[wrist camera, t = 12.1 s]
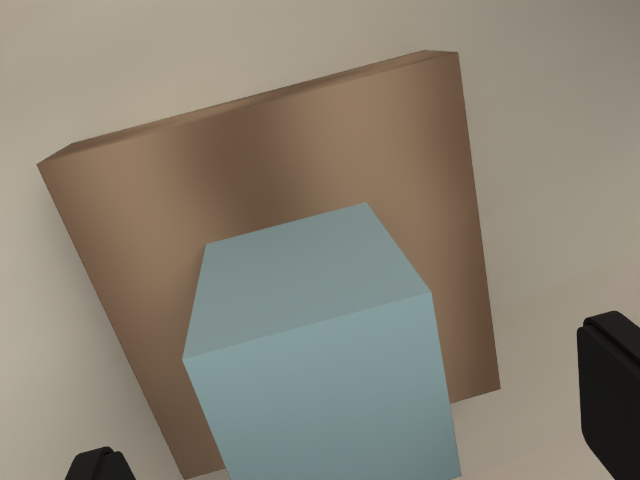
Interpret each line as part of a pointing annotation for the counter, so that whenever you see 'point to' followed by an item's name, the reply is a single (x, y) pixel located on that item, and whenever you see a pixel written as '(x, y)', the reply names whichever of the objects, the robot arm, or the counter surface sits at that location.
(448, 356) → the base
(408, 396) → the block
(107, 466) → the robot arm
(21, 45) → the counter surface
